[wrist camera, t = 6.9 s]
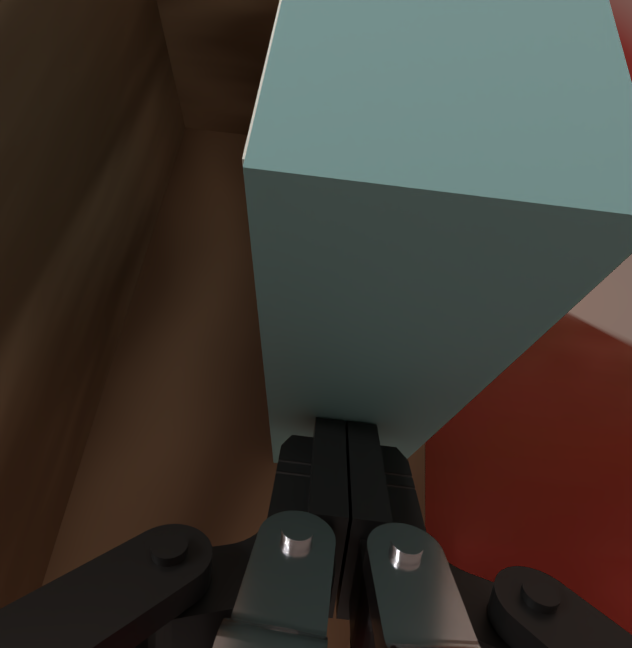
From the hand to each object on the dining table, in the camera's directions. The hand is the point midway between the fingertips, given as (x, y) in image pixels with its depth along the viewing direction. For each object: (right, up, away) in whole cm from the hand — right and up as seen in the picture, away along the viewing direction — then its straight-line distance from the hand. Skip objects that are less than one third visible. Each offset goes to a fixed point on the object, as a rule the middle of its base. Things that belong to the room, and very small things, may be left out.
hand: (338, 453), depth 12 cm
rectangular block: (0, +3, +7) cm, 8 cm away
